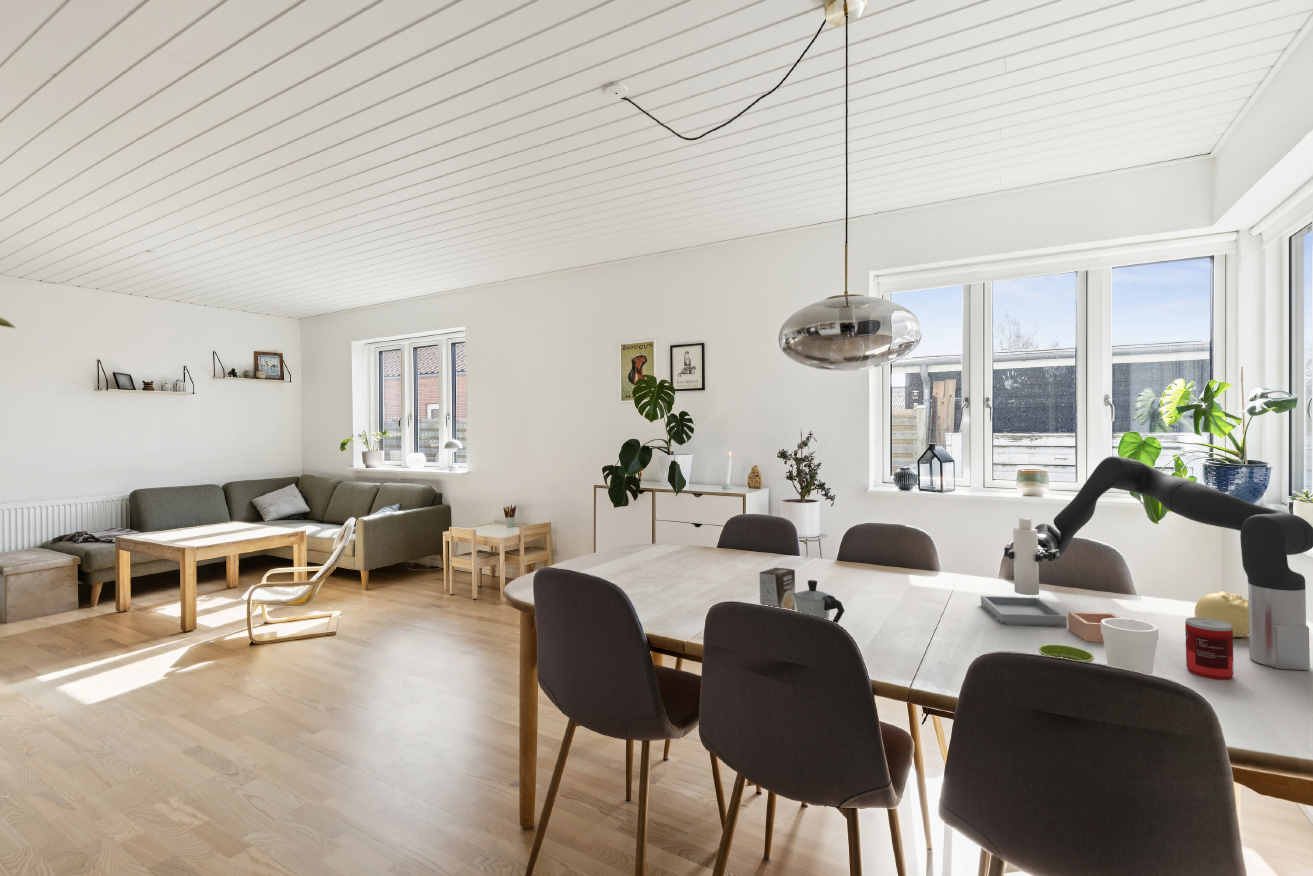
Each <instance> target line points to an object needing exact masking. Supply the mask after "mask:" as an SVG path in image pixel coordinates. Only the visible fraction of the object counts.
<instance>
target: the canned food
mask: <svg viewBox="0 0 1313 876" xmlns="http://www.w3.org/2000/svg"><path fill="white" fill-rule="evenodd" d="M1184 623H1185V625H1184V626H1185V627H1184V628H1185V630H1184V631H1185V659H1186V660H1185V661H1186V664H1185V666H1186V668H1187V670H1188V671H1189V672H1190V673H1192V674H1193V675H1196V676H1199V677H1202V678H1206V679H1211V680H1222V681H1226V680H1227V681H1228V680H1231V679H1232V678H1233V677H1234V637H1233V628H1232V625H1231V624H1229V623H1226V622H1223V621H1220V620H1215V619H1209V618H1199V617H1195V616H1194V617H1187V618H1186V619H1185V622H1184Z"/></svg>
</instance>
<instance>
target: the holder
mask: <svg viewBox="0 0 1313 876" xmlns="http://www.w3.org/2000/svg"><path fill="white" fill-rule="evenodd" d="M1067 616H1068V621H1067V623H1068V624H1067V627H1068V630H1069V629H1070V630H1069V631H1071V632H1072V631H1073V632H1072V633H1073V634H1075V633H1076V634H1077V635H1076V634H1075V635H1076V636H1078V637H1079V636H1080V637H1079V638H1081V639H1082V640H1083V639H1084V640H1083V641H1085V642H1086V641H1091V643H1104V641H1103V635H1102V633H1101V620H1102V619H1107V618H1121V616H1118V615H1116V614H1114V613H1113V612H1112V613H1111V612H1109V613H1107V612H1106V613H1105V612H1082V611H1081V612H1080V611H1079V612H1077V611H1076V612H1075V611H1068V614H1067Z"/></svg>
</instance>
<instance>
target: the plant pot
mask: <svg viewBox="0 0 1313 876" xmlns="http://www.w3.org/2000/svg"><path fill="white" fill-rule="evenodd" d="M1037 650H1038V652H1039V653H1040V656H1041V655H1045V656H1052V657H1053V656H1054V657H1063V658H1068V659H1073V660H1077V661H1085V662H1091V663H1092V662H1093V661H1094V660H1095V656H1094V654H1093V653H1091V652H1089V651H1087V650H1085V649H1082V648H1079V647H1075V646H1070V645H1064V644H1044V645H1041V646H1039V647H1038V649H1037Z"/></svg>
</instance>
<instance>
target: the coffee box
mask: <svg viewBox="0 0 1313 876" xmlns="http://www.w3.org/2000/svg"><path fill="white" fill-rule="evenodd" d="M795 571H796V570H795V569H792V568H786V567H782V568H781V567H774V568H770V569H766V570H763V571H760V572H759V605H760V604H762V605H768V606H773V607H779V608H787V609H792V610H795V611H796V602H795V597H794V595H792V593H796V572H795Z"/></svg>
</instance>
